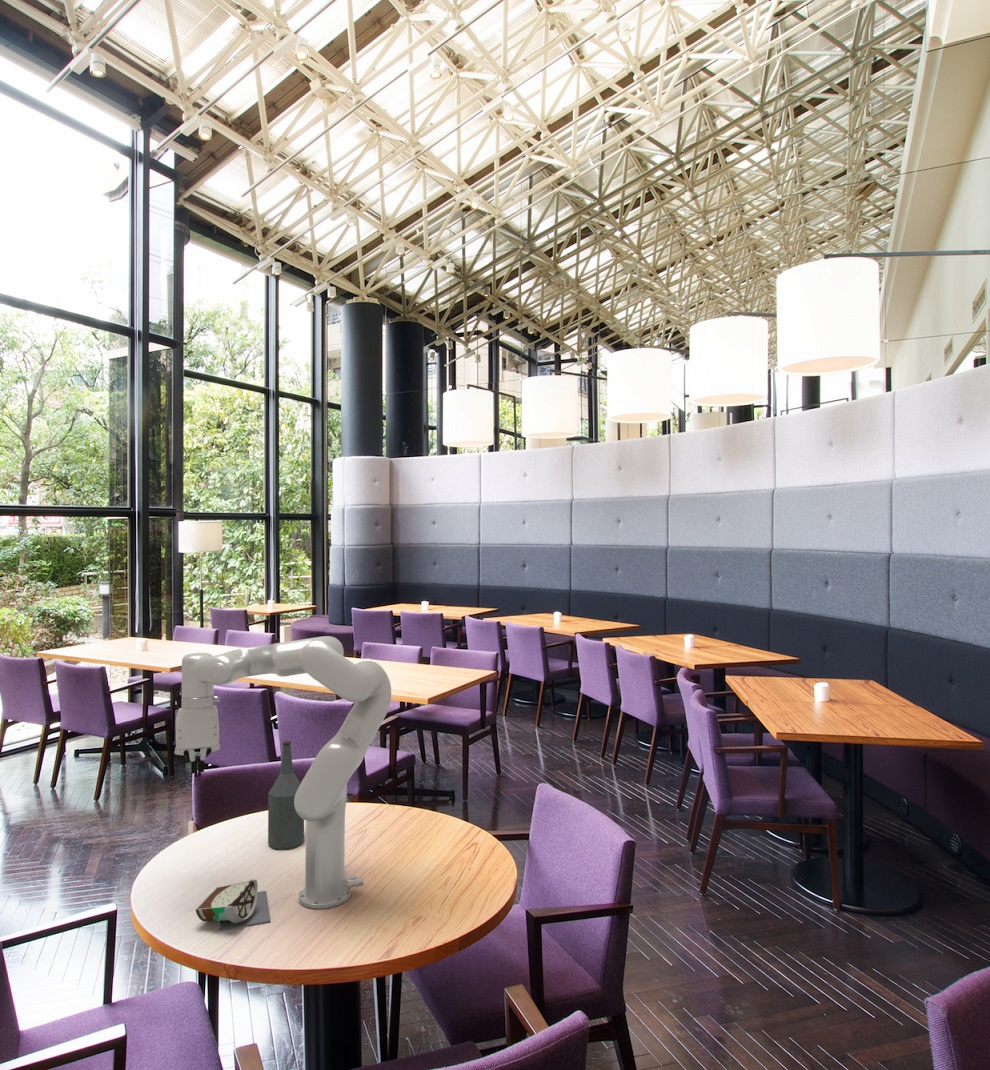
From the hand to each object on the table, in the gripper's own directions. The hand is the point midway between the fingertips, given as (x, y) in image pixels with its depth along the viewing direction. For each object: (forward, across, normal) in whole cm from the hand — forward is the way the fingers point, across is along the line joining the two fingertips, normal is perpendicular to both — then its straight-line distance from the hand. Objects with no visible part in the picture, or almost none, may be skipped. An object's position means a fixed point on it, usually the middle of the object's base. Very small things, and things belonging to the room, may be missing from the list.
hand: (197, 775), depth 185 cm
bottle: (+30, -24, -24) cm, 45 cm away
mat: (+30, -10, +14) cm, 34 cm away
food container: (+28, -2, +15) cm, 31 cm away
